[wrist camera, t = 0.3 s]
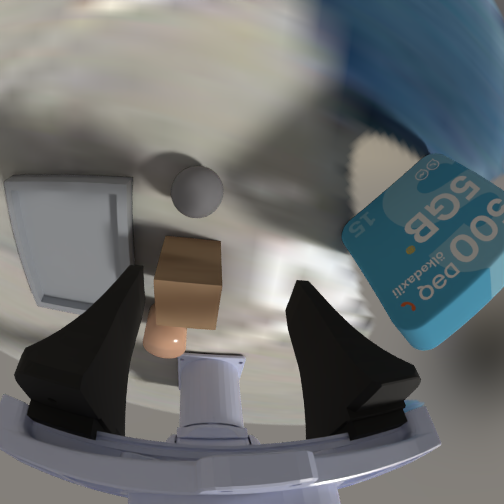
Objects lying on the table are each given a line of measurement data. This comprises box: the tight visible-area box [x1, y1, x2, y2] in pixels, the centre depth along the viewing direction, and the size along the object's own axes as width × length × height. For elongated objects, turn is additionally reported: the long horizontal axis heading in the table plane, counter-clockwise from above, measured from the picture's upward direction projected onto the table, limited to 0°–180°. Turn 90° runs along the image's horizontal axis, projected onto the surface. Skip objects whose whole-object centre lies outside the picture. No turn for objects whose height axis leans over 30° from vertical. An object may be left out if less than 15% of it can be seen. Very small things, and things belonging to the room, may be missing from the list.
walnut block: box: [154, 236, 222, 330], centre depth 21 cm, size 4×4×6 cm
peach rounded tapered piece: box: [143, 303, 187, 358], centre depth 25 cm, size 4×4×4 cm
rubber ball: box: [171, 166, 223, 218], centre depth 18 cm, size 4×4×4 cm
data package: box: [342, 154, 504, 350], centre depth 17 cm, size 12×4×12 cm, turn 133°
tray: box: [4, 175, 135, 315], centre depth 21 cm, size 14×12×2 cm
